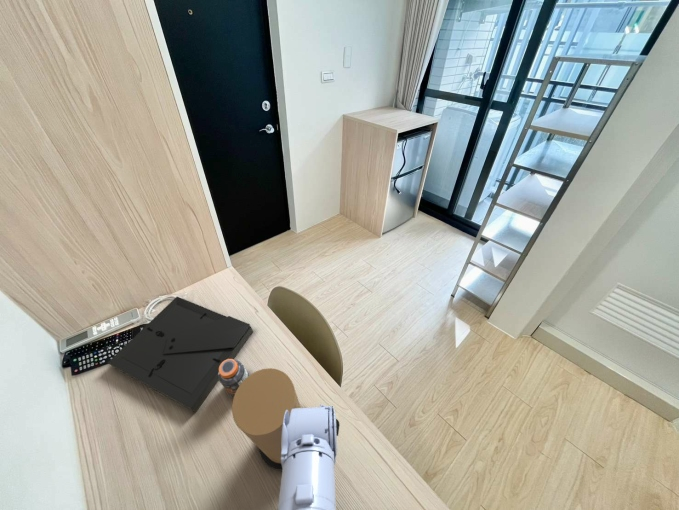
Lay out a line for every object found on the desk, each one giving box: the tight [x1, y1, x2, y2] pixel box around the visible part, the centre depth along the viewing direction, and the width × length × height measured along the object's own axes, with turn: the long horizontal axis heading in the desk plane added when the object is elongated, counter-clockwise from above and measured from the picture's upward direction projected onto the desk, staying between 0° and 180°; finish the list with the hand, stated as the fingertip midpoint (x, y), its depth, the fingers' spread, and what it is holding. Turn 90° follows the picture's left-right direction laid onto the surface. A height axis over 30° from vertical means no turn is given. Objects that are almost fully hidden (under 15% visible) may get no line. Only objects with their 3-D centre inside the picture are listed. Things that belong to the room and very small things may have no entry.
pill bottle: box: [218, 359, 250, 398], centre depth 65 cm, size 6×6×11 cm
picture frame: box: [107, 296, 254, 413], centre depth 75 cm, size 23×4×28 cm
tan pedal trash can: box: [231, 367, 302, 463], centre depth 51 cm, size 10×16×24 cm, turn 81°
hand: (320, 464), depth 49 cm, fingers open, 7 cm apart
